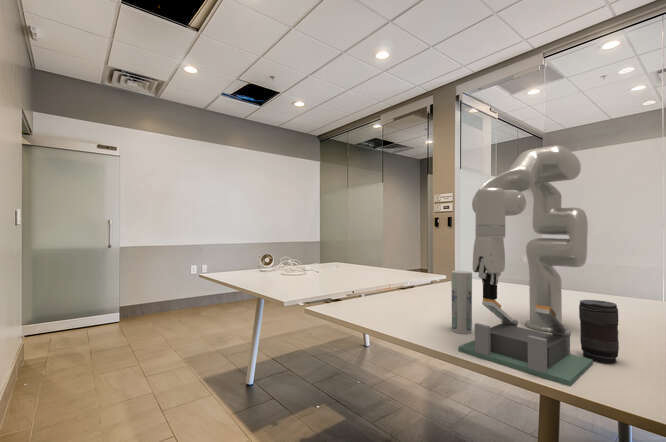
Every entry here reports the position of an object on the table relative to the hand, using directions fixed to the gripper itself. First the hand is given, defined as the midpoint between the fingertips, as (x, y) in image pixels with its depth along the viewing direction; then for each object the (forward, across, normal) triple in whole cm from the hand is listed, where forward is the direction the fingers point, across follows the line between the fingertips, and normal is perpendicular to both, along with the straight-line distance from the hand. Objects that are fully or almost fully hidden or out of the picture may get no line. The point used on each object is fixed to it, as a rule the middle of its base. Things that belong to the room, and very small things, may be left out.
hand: (489, 298), depth 89 cm
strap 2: (+5, -5, +13) cm, 15 cm away
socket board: (+15, -5, +6) cm, 17 cm away
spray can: (+15, -13, -16) cm, 25 cm away
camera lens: (+15, -20, +20) cm, 32 cm away
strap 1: (+5, -5, 0) cm, 7 cm away
